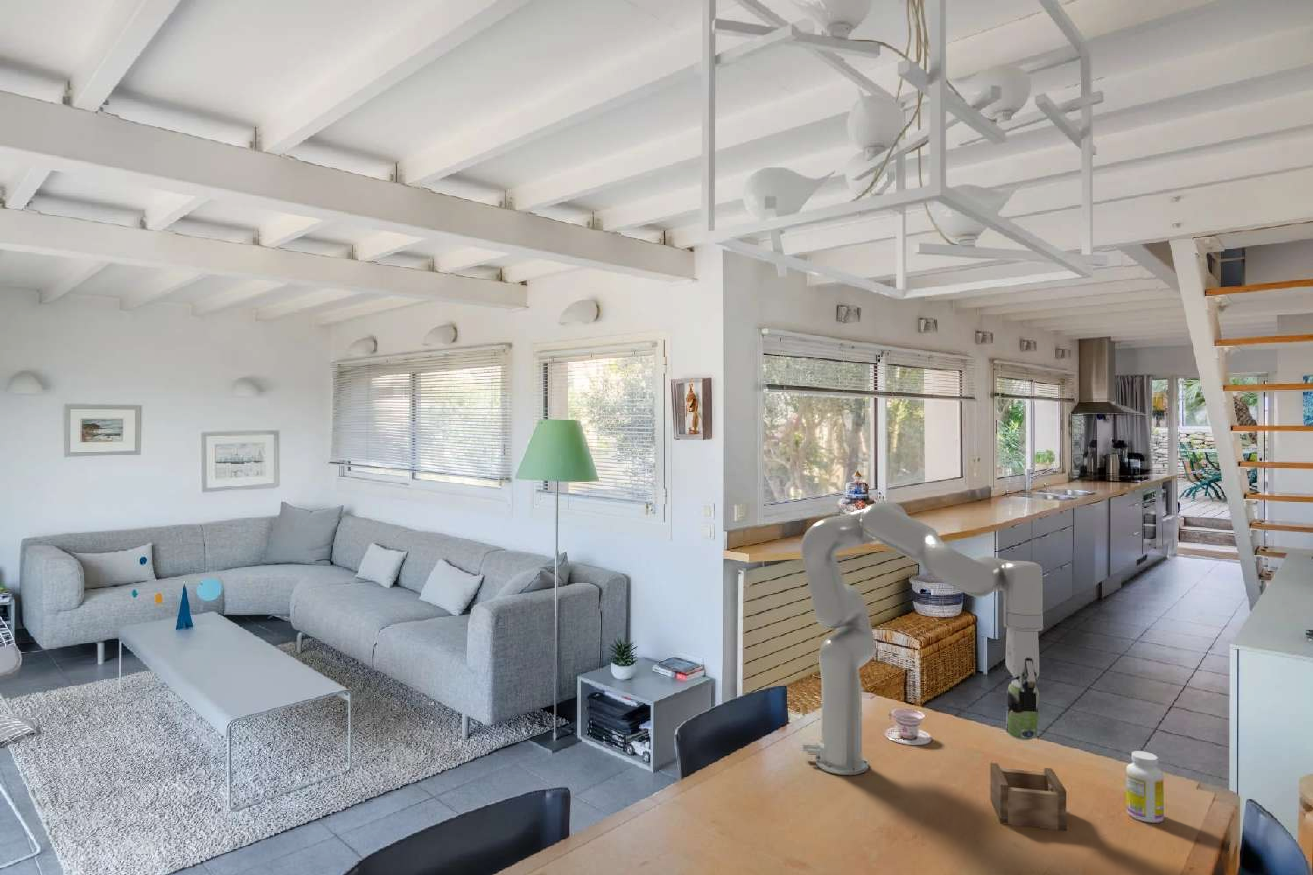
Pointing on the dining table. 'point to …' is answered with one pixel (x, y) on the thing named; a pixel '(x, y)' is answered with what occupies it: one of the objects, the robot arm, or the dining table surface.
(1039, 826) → the holder
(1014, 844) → the dining table surface
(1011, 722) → the beverage can
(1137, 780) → the supplement bottle
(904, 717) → the teacup
